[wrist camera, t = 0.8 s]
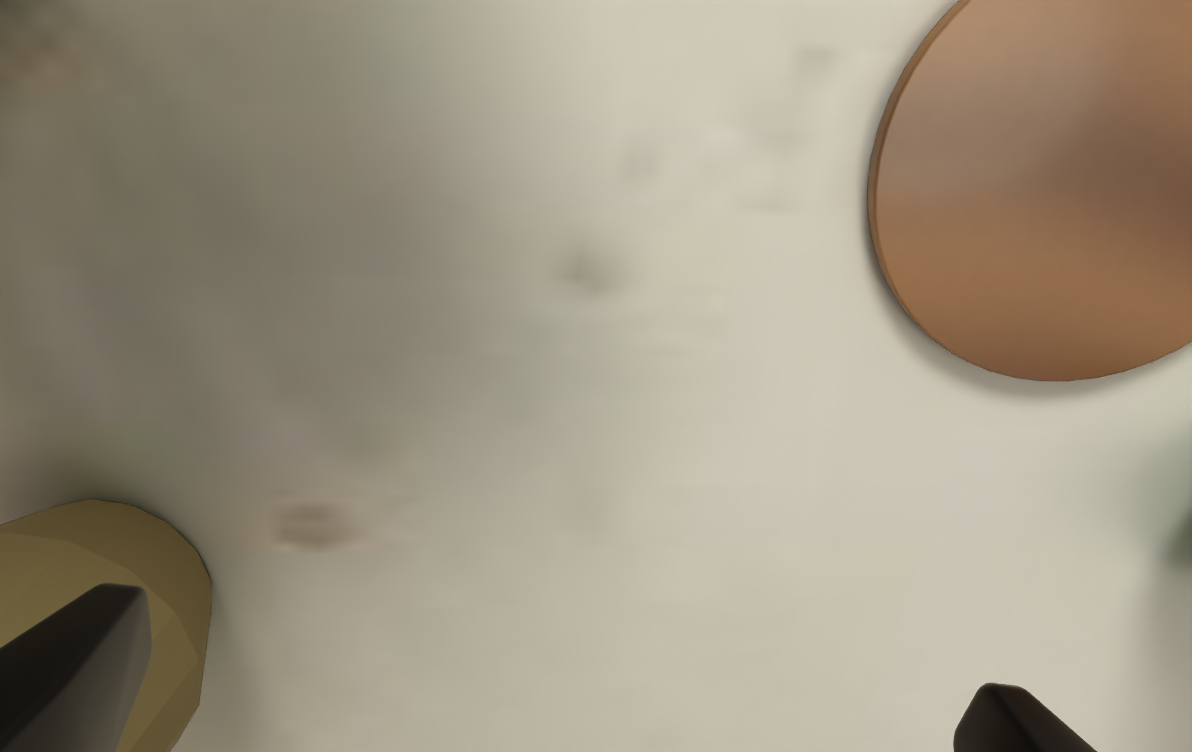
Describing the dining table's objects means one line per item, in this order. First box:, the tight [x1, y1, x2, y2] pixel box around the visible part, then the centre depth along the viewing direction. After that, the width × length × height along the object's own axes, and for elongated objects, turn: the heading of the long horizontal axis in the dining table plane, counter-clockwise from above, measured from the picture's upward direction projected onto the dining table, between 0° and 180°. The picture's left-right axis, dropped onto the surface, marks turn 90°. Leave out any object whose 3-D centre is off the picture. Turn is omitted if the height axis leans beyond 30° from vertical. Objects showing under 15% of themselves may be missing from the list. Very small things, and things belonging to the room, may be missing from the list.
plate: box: [868, 0, 1192, 381], centre depth 21 cm, size 11×11×1 cm
